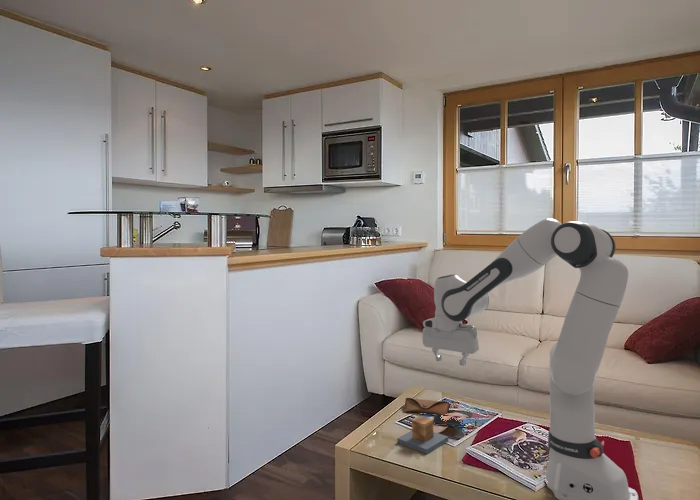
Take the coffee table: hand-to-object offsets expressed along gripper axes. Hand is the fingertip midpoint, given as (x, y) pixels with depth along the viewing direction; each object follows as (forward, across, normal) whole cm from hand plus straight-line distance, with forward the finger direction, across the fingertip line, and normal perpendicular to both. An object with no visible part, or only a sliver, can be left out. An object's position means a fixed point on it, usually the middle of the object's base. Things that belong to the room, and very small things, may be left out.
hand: (450, 362), depth 160 cm
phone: (+26, +6, -10) cm, 28 cm away
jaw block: (+24, +6, +10) cm, 26 cm away
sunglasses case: (+26, +20, -12) cm, 35 cm away
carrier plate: (+25, +6, +10) cm, 28 cm away
